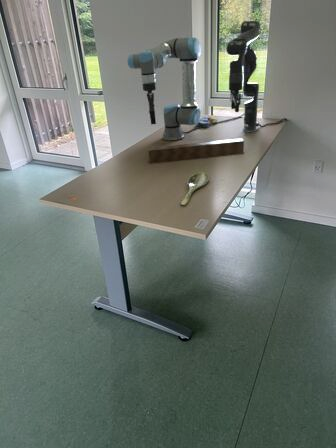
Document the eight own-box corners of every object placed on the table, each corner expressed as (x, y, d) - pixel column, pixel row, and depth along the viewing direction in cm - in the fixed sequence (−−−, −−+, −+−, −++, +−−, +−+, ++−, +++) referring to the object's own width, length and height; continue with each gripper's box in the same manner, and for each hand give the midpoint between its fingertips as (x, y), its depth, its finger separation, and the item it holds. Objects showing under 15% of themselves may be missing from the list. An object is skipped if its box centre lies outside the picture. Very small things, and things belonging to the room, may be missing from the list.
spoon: (193, 209, 156) (193, 205, 155) (172, 207, 159) (171, 203, 158) (212, 175, 182) (212, 172, 181) (193, 174, 186) (193, 170, 184)
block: (149, 163, 208) (148, 150, 203) (149, 160, 212) (147, 148, 208) (243, 153, 210) (244, 140, 205) (241, 150, 214) (241, 138, 210)
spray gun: (219, 120, 278) (203, 120, 284) (219, 115, 276) (202, 115, 282) (211, 128, 263) (193, 127, 269) (211, 122, 261) (193, 122, 267)
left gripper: (157, 85, 175) (160, 126, 186) (154, 78, 197) (158, 115, 208) (142, 86, 175) (147, 127, 186) (141, 79, 196) (146, 116, 207)
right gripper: (245, 82, 183) (244, 112, 192) (238, 78, 195) (238, 107, 204) (232, 83, 183) (231, 113, 191) (226, 79, 195) (225, 108, 204)
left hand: (153, 121), depth 197 cm, fingers open, 13 cm apart
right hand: (234, 110), depth 198 cm, fingers open, 8 cm apart
